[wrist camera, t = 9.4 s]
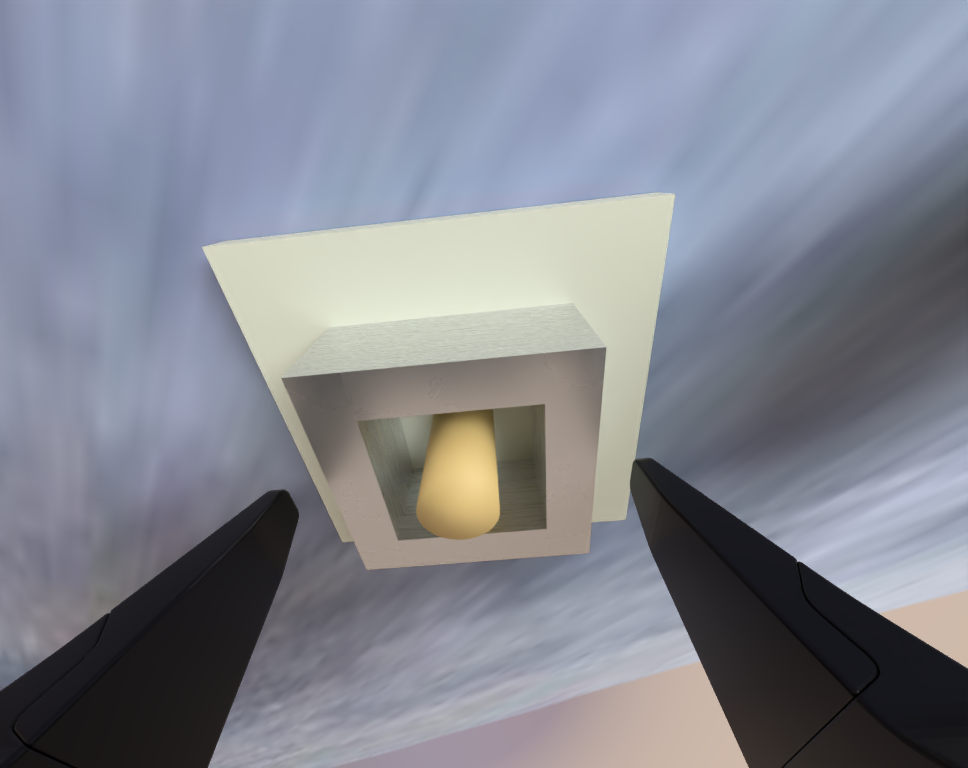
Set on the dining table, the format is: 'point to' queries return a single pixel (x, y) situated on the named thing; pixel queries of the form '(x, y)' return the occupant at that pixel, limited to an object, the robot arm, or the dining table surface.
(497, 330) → the link
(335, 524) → the keeper
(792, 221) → the dining table surface
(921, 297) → the dining table surface
